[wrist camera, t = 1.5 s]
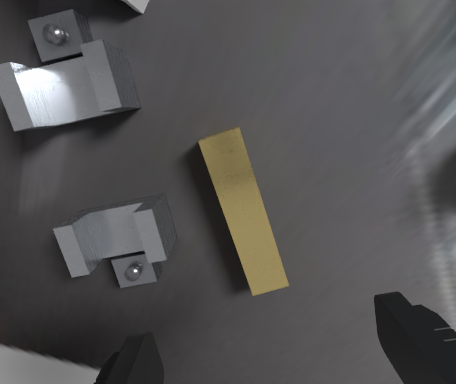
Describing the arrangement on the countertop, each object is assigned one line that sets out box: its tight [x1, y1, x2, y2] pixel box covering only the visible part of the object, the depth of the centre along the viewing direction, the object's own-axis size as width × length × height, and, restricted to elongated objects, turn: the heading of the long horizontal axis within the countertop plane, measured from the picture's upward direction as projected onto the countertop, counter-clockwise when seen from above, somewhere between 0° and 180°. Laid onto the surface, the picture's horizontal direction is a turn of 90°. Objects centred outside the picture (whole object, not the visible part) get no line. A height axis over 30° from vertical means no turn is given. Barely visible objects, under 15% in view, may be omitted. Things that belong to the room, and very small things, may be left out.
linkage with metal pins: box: [0, 9, 177, 288], centre depth 22 cm, size 7×21×4 cm, turn 12°
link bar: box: [198, 126, 289, 296], centre depth 23 cm, size 3×13×3 cm, turn 18°
